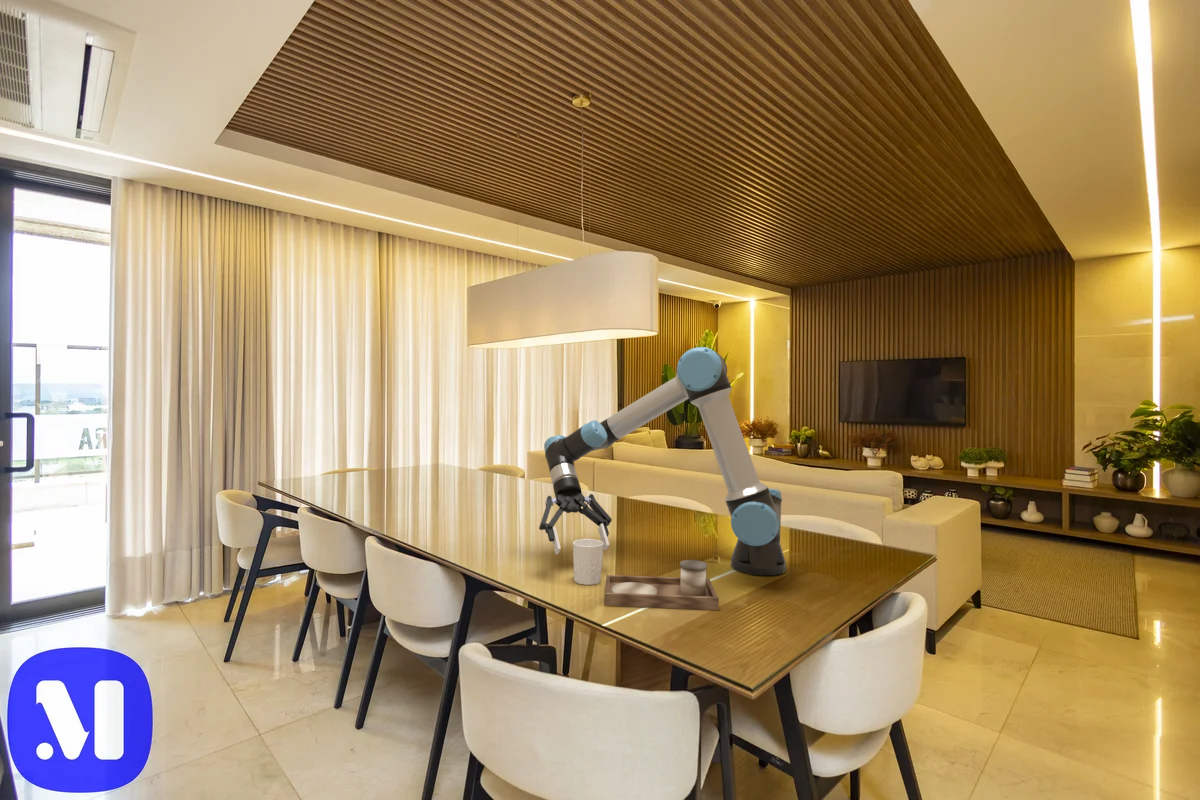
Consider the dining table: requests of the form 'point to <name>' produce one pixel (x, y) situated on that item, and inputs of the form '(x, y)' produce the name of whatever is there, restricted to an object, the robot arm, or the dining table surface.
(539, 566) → the dining table surface
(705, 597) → the tray
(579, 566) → the white cup
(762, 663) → the dining table surface
